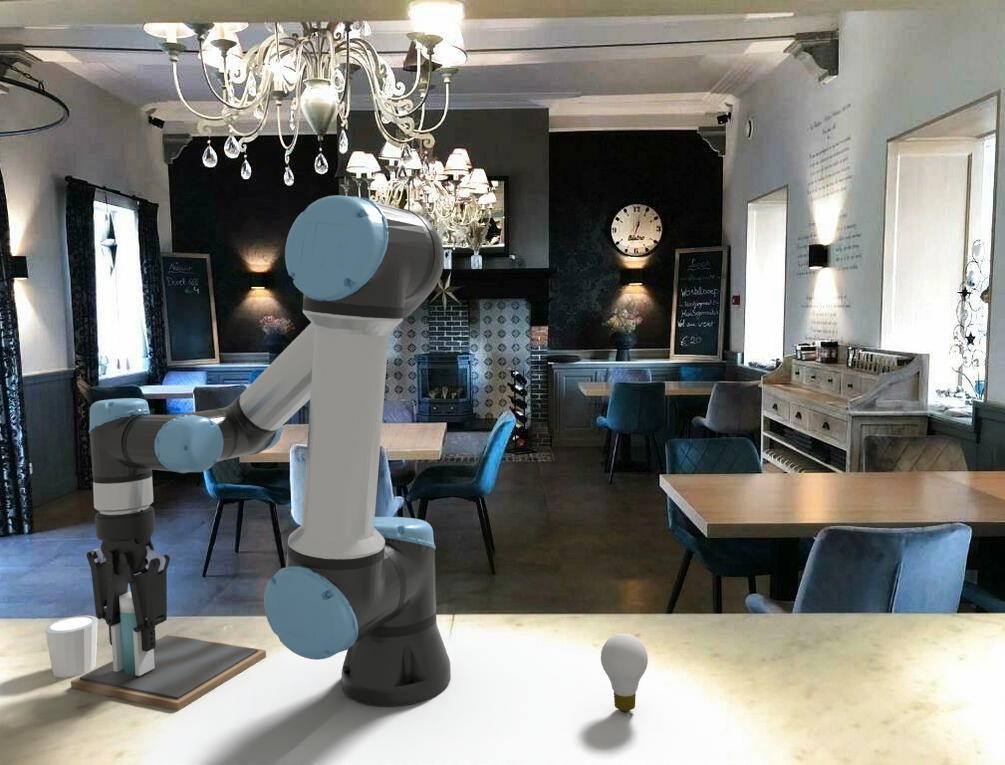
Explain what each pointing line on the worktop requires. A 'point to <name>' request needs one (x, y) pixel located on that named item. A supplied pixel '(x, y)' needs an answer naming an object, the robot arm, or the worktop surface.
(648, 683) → the worktop surface
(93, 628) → the white tapered cup
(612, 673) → the light bulb
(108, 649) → the worktop surface
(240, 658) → the slate board
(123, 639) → the teal bottle
